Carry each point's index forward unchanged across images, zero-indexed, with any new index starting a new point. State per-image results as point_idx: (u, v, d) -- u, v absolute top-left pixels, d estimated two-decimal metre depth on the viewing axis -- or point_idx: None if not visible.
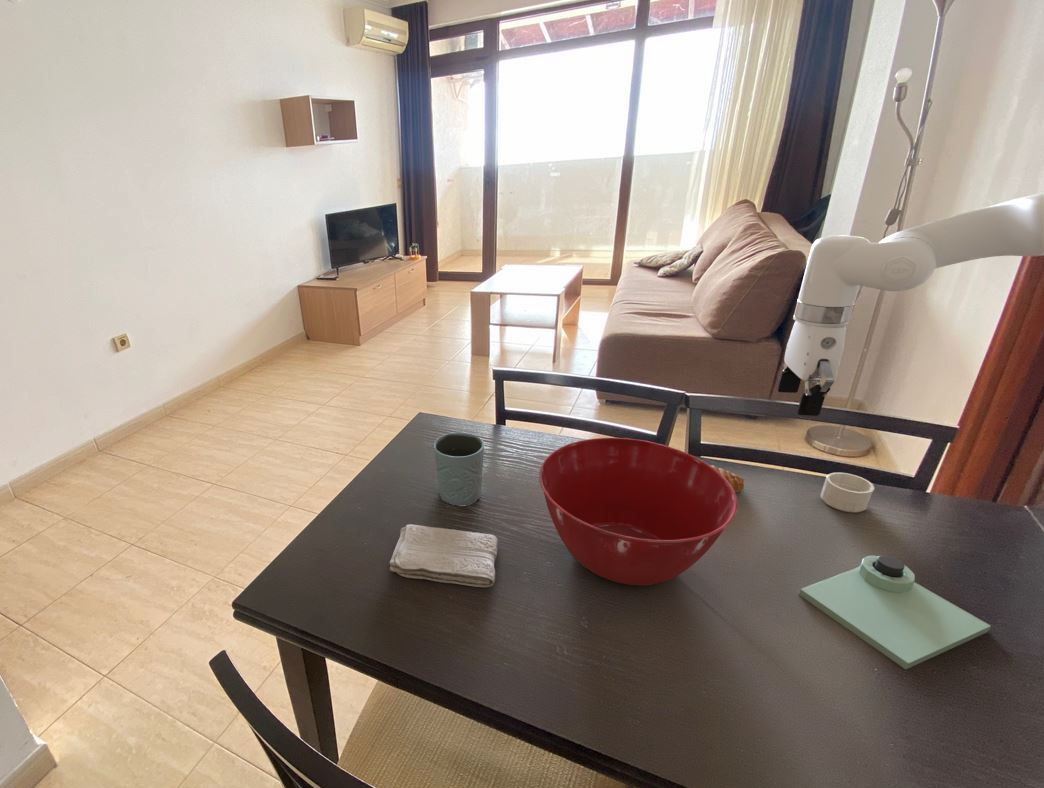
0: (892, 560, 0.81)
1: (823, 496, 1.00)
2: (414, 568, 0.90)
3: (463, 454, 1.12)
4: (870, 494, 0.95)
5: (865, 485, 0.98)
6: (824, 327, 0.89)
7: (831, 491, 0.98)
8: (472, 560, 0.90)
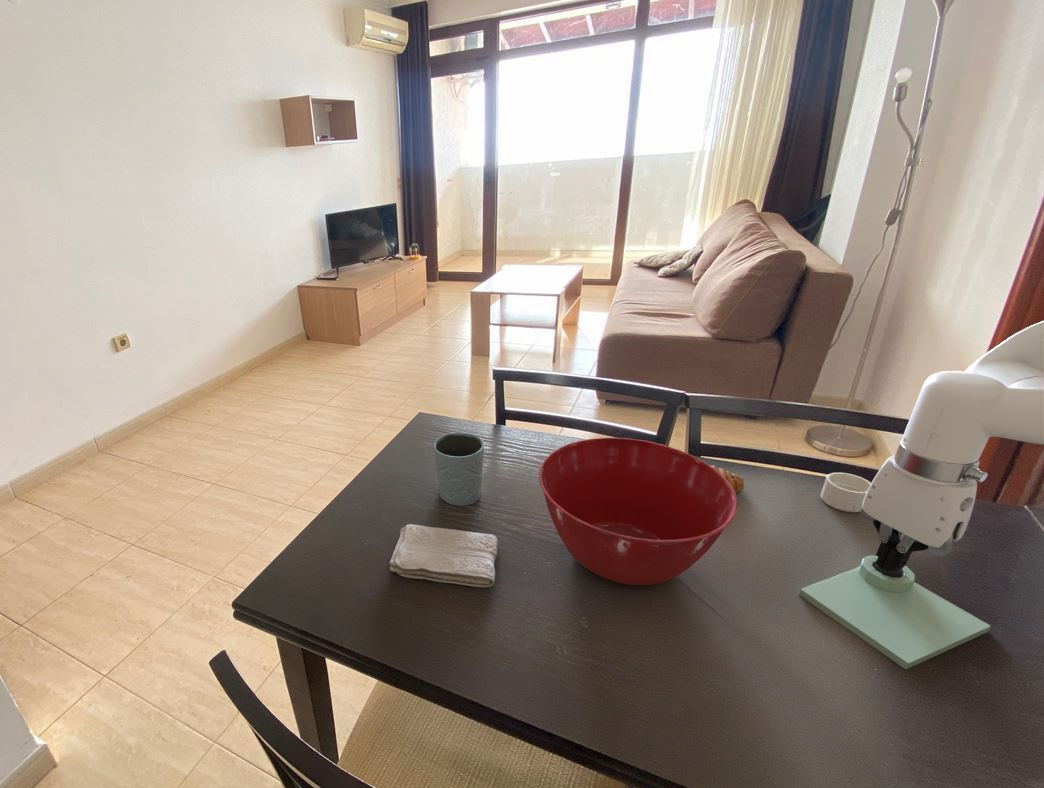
0: None
1: (823, 496, 1.00)
2: (414, 568, 0.90)
3: (463, 454, 1.12)
4: None
5: (865, 485, 0.98)
6: (961, 487, 0.70)
7: (831, 491, 0.98)
8: (472, 561, 0.90)
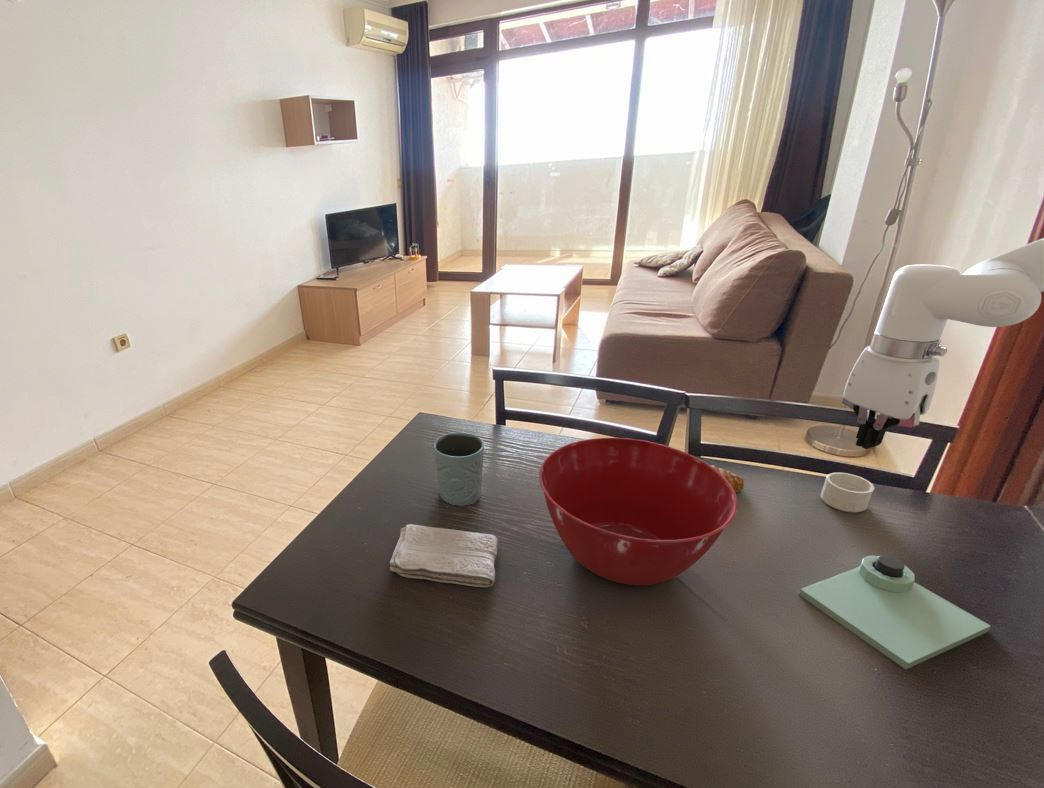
0: (892, 560, 0.81)
1: (823, 496, 1.00)
2: (414, 568, 0.90)
3: (463, 454, 1.12)
4: (870, 494, 0.95)
5: (865, 485, 0.98)
6: (926, 362, 0.82)
7: (831, 491, 0.98)
8: (472, 561, 0.90)
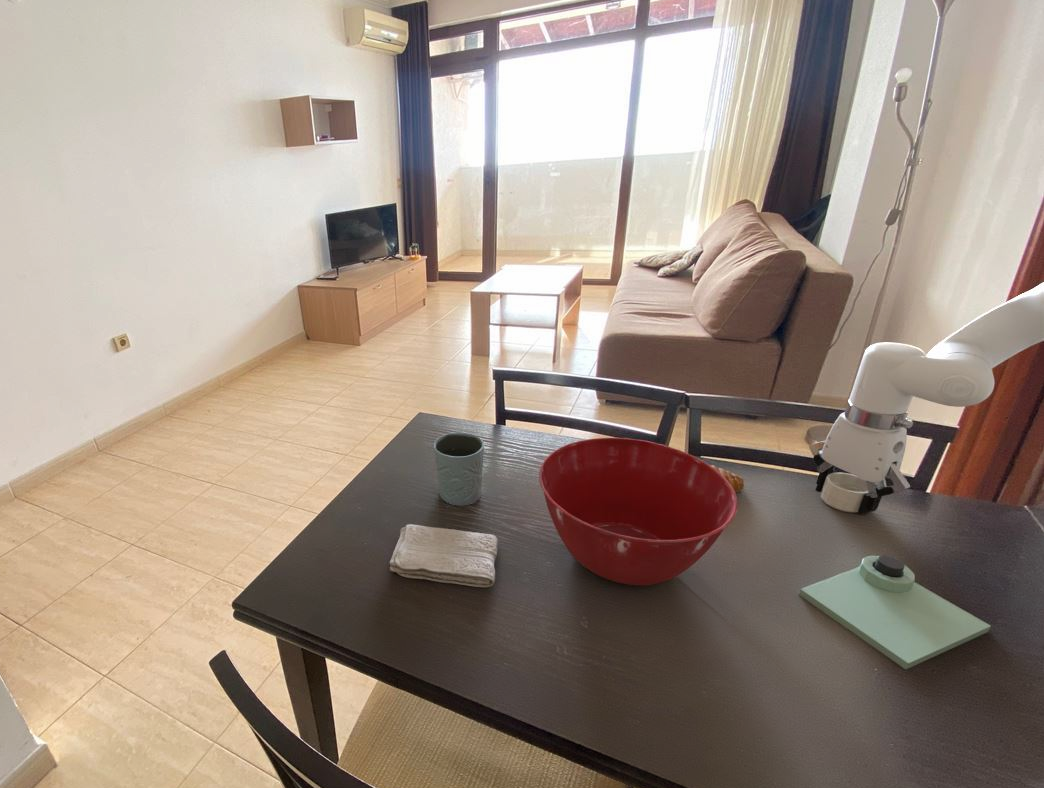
0: (892, 560, 0.81)
1: (823, 496, 1.00)
2: (414, 568, 0.90)
3: (463, 454, 1.12)
4: None
5: (865, 485, 0.98)
6: (894, 433, 0.89)
7: (831, 491, 0.98)
8: (472, 561, 0.90)
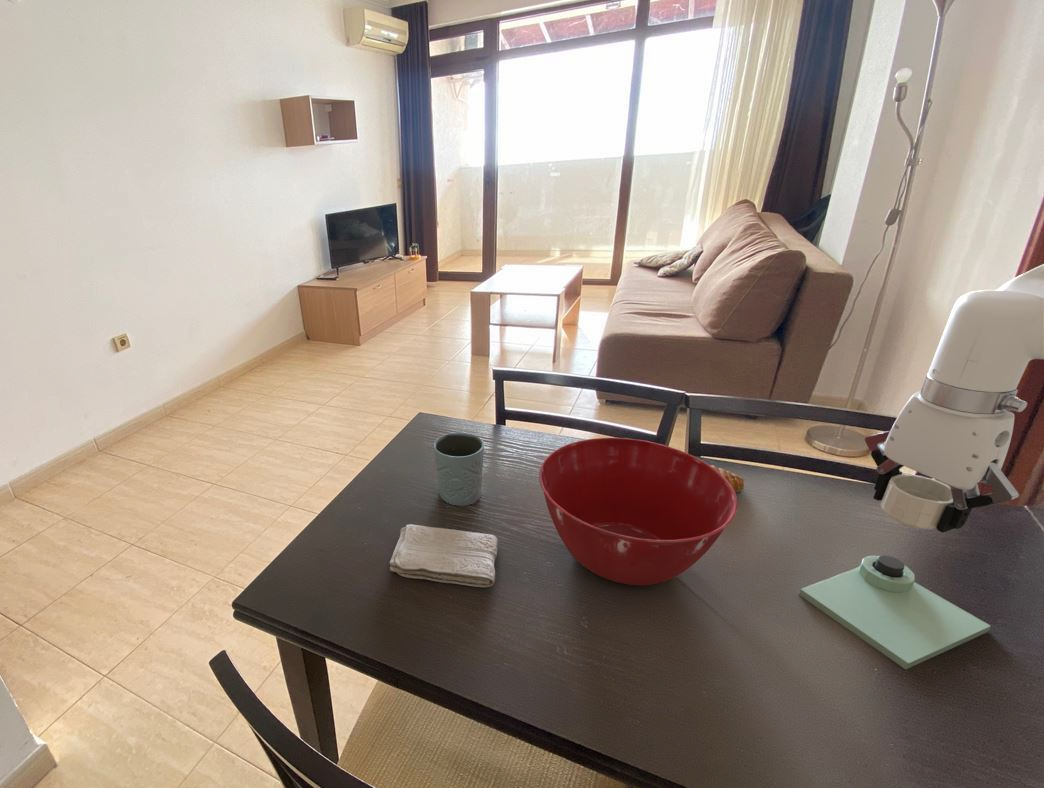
0: (892, 560, 0.81)
1: (885, 506, 0.74)
2: (414, 568, 0.90)
3: (463, 454, 1.12)
4: None
5: (945, 492, 0.72)
6: (997, 419, 0.63)
7: (897, 500, 0.72)
8: (472, 561, 0.90)
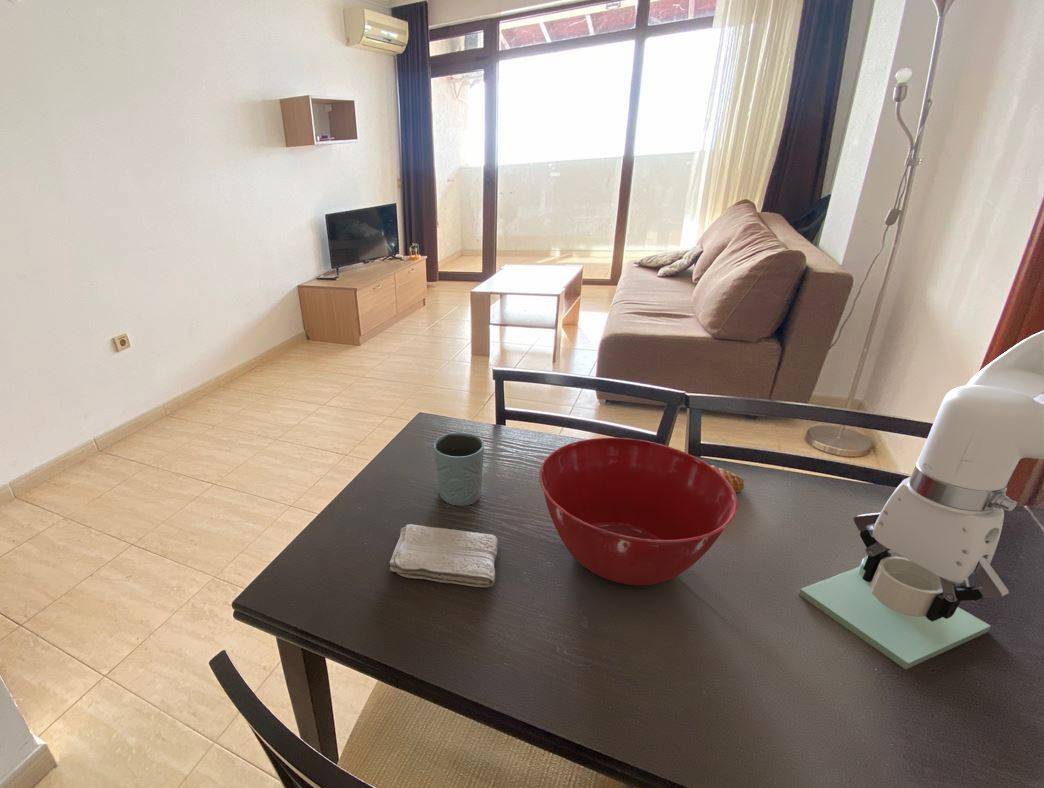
0: None
1: (874, 590, 0.73)
2: (414, 568, 0.90)
3: (463, 454, 1.12)
4: None
5: (934, 578, 0.71)
6: (987, 516, 0.62)
7: (887, 586, 0.71)
8: (472, 561, 0.90)
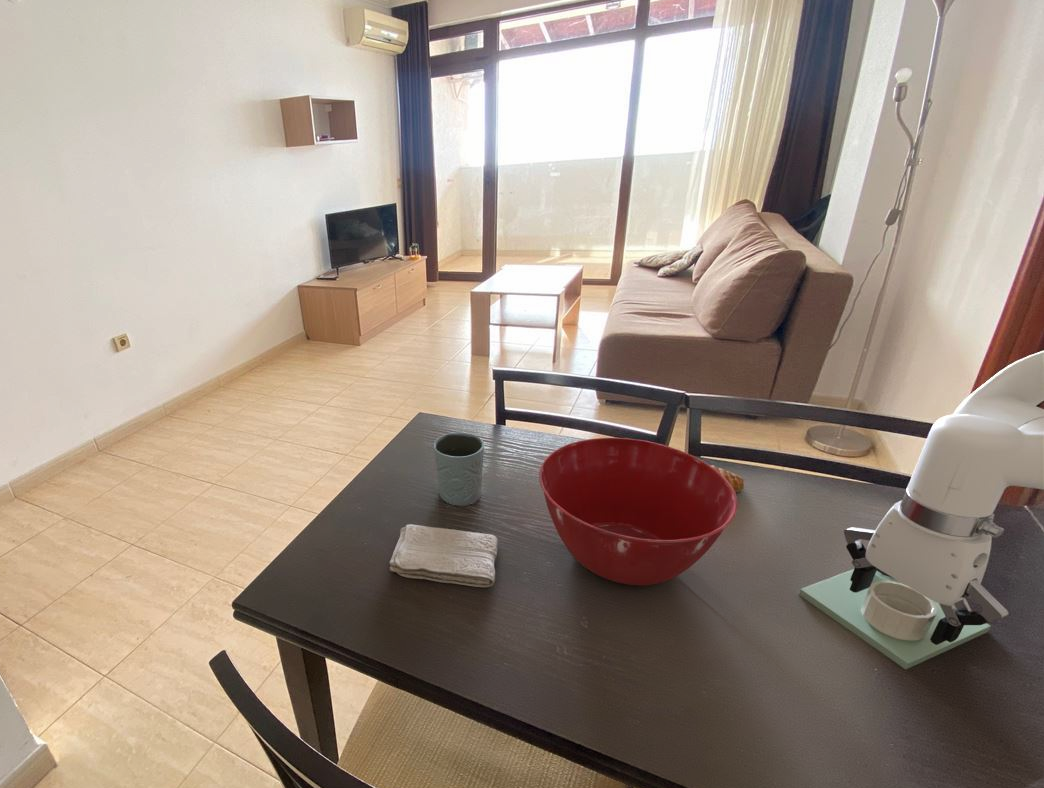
0: None
1: (865, 613, 0.75)
2: (414, 568, 0.90)
3: (463, 454, 1.12)
4: (932, 619, 0.70)
5: (923, 602, 0.73)
6: (974, 542, 0.63)
7: (877, 610, 0.73)
8: (472, 561, 0.90)
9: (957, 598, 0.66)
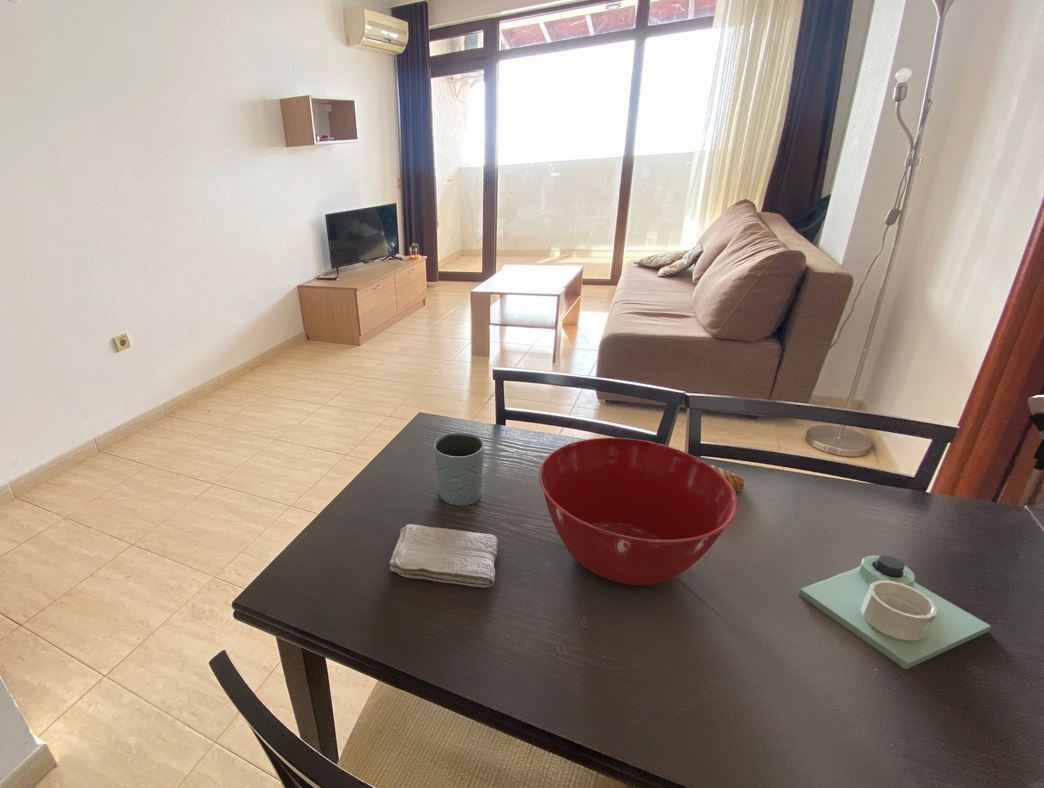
0: (892, 560, 0.81)
1: (865, 613, 0.75)
2: (414, 568, 0.90)
3: (463, 454, 1.12)
4: (932, 619, 0.70)
5: (923, 602, 0.73)
6: None
7: (877, 610, 0.73)
8: (472, 561, 0.90)
9: None
